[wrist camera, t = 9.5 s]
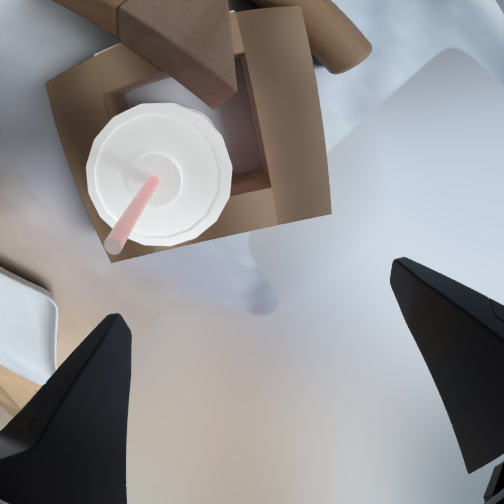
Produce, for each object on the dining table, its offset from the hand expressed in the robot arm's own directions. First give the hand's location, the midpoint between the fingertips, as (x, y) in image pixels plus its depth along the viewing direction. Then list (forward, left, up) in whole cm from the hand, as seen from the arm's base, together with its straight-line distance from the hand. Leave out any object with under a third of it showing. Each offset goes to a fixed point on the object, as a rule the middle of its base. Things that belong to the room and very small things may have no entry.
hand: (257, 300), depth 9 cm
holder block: (+2, -4, -13) cm, 14 cm away
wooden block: (+4, -20, -9) cm, 22 cm away
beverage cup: (+3, -3, -13) cm, 14 cm away
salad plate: (+33, +7, -14) cm, 37 cm away
